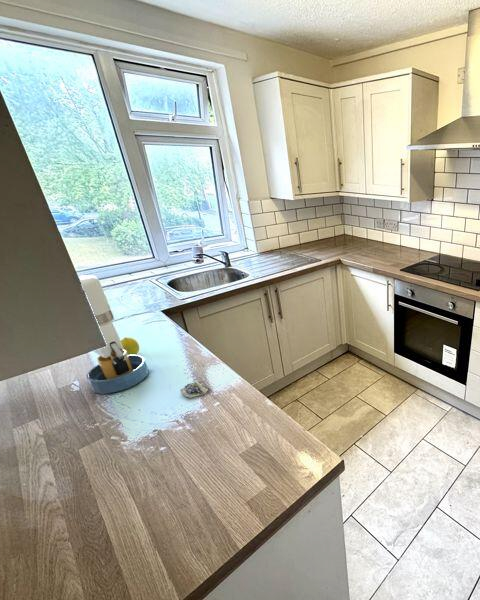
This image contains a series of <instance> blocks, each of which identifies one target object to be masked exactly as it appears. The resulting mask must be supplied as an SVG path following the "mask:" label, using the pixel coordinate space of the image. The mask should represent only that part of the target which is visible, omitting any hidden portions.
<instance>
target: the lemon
mask: <svg viewBox="0 0 480 600" xmlns="http://www.w3.org/2000/svg"><path fill="white" fill-rule="evenodd" d="M120 341H121V343H122V346H123V350H126V352H127V355H138V354H139V352H140V345H139V343H138V341H137V340H136V339H134V338H133V337H127V336H126V337H123V338H122V339H120Z"/></svg>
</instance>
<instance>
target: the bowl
mask: <svg viewBox="0 0 480 600" xmlns="http://www.w3.org/2000/svg"><path fill="white" fill-rule="evenodd" d="M128 357H129V360H130V362H131V365H132V367H133V371H131V372H130V373H127V374H125V375H123V376H120V377H117V378H114V379H109V380H106V379H105V376H104V374H103V372H102V370H101V367H100V365H99V364H97V365H95V366H94V367H92V368H91V369H90V370H89V371H88V372H87V374H86V380H87V382H88V384H89V386H90V388H91V390H92V391H93V392H94V393H96V394H102V395H103V394H112V393H116V392H120V391H123V390H126V389H129V388H131V387H133V386H135V385H137V384H139V383H140V382H141V381H143V380H144V379H145V378H146V377H147V376H148V374H149V371H150V370H149V368H148V365H147V362H146V360H145V357H144V356H142V355H139V354H136V355H128Z"/></svg>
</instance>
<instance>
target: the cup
mask: <svg viewBox="0 0 480 600" xmlns="http://www.w3.org/2000/svg"><path fill="white" fill-rule="evenodd" d="M113 353H114V351H113V352H111V354H113ZM122 353H123V354H124V358H125V360H126V362H127V365H128V367H129V371H127V372H125V373H122V374H120V375H117V374H116V372H115V370H114V368H113V365H112V364H113V362H112V360H111V359H110V357H108V358H104V357H102V356H100V355H98V357H97V359H96V360H97V362H98V365H100V367H101V370H102V372H103V374H104V376H105V379H106V380H109V379H114V378H117V377H120V376H123V375H125V374H127V373H130V372H131V371H133V367H132V365H131V362H130V360H129V357H128V355H127V352H126V350H123V351H122ZM113 357H114V359H115V357H117V356H116V355H114V356H113Z"/></svg>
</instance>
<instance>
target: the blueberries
mask: <svg viewBox="0 0 480 600" xmlns="http://www.w3.org/2000/svg"><path fill="white" fill-rule="evenodd" d="M204 386H205V385H204V382H203V383H202V382H201V381H195V382H191V383H187V384H186V385H184V387H183V388H181V389H180V390H179V391H180V393H181V394H183V396H185V397H187V398H189V399H191V398H195V397H200V396H203V395H205V394H207V393H208V391H209V389H208V388H207V387H206V386H205V387H204Z"/></svg>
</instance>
